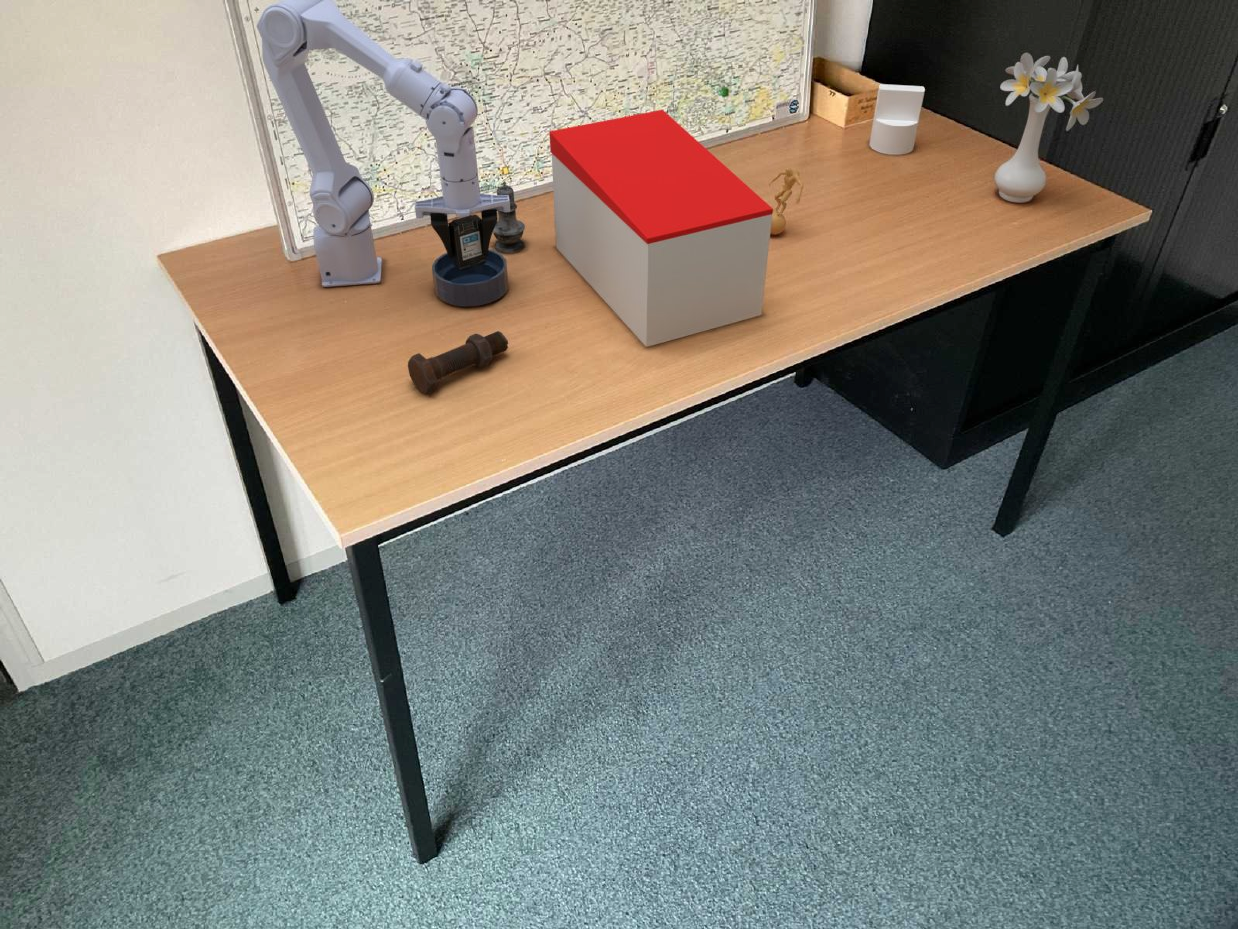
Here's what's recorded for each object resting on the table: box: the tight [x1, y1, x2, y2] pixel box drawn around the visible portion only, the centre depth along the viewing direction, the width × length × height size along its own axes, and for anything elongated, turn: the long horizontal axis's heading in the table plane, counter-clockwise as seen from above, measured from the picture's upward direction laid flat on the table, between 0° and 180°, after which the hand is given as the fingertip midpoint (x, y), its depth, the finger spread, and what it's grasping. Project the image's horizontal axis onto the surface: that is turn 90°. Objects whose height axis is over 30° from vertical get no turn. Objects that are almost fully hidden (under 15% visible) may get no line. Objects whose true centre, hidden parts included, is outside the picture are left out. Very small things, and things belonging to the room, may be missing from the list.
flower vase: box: [993, 52, 1104, 204], centre depth 182 cm, size 13×18×25 cm
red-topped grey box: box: [548, 109, 774, 348], centre depth 161 cm, size 21×35×21 cm, turn 26°
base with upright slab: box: [868, 83, 926, 156], centre depth 205 cm, size 9×9×12 cm
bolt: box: [407, 330, 509, 395], centre depth 146 cm, size 6×5×15 cm
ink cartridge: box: [448, 214, 487, 271], centre depth 160 cm, size 5×2×8 cm, turn 123°
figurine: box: [768, 167, 804, 236], centre depth 176 cm, size 8×6×12 cm
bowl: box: [431, 248, 509, 307], centre depth 164 cm, size 12×12×4 cm
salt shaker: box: [492, 181, 526, 254], centre depth 173 cm, size 6×6×12 cm
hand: (468, 254), depth 161 cm, fingers closed on ink cartridge, 5 cm apart
